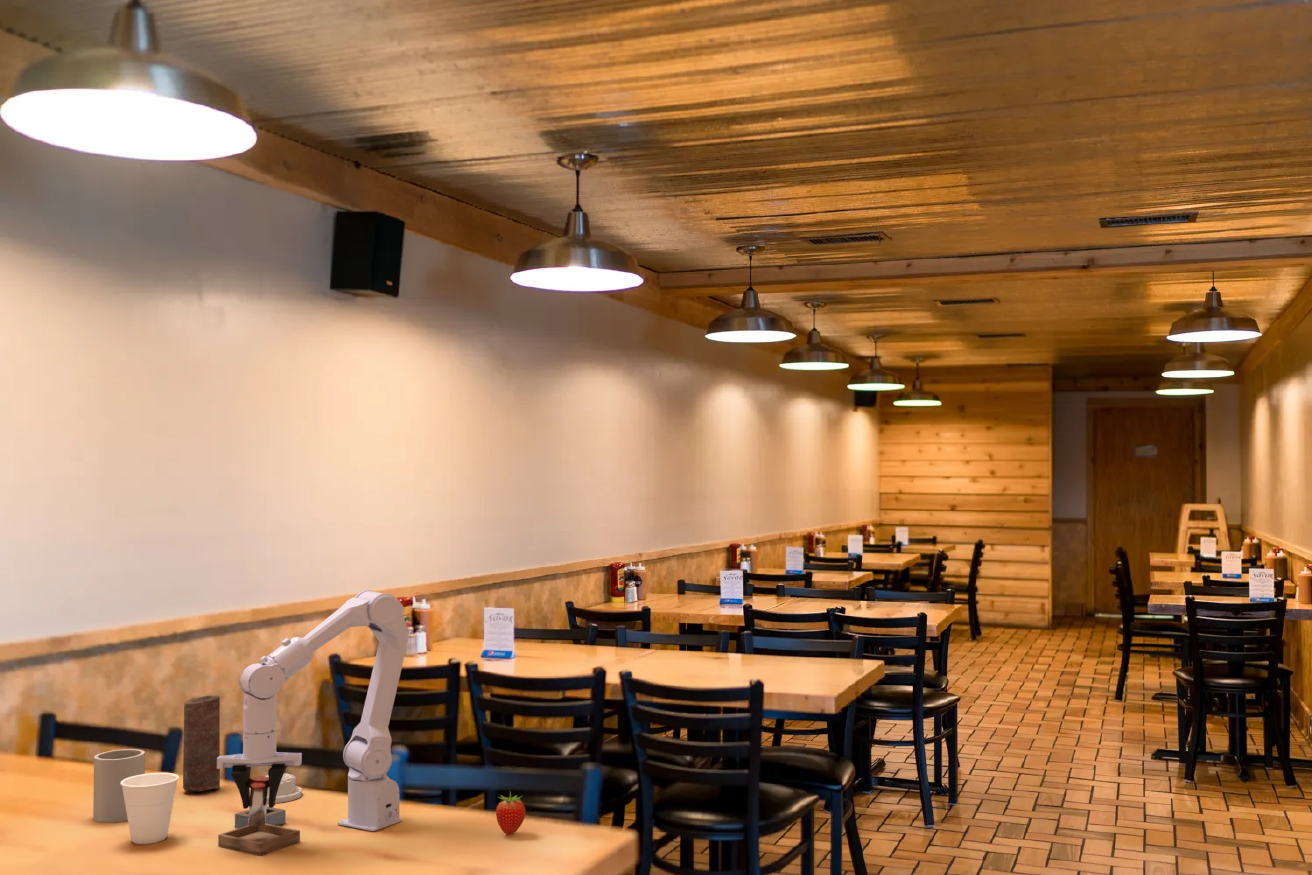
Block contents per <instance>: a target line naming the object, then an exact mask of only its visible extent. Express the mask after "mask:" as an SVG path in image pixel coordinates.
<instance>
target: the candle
mask: <svg viewBox="0 0 1312 875" xmlns="http://www.w3.org/2000/svg"><path fill="white" fill-rule="evenodd" d="M220 699H221V698H220V695H219V694H214V695H204V696H198V695H197V696H191V697H189V698H187V700H186V701H184V703H183V759H182V761H183V763H182V771H183V772H182V774H183V775H182V789H183V790H184V791H186V792H194V793H199V792H204V791H208V790H211V789H214V790H216V789H217V790H218V789H219V788H220V787H221V786H220V784H221V783H220V782H221V779H220V778H221V776H220V775H221V769H217V758H218V757H219V756H221V755H220V754H221V753H220V752H221V751H220V750H221V747H220V743H221V738H220V735H221V734H220V730H221V729H220V728H221V726H220V722H221V721H220V720H221V719H220V716H221V715H220V714H221V712H220V710H221V705H220V704H221V703H220V701H221V700H220Z"/></svg>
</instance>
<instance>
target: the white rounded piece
mask: <svg viewBox="0 0 1312 875" xmlns="http://www.w3.org/2000/svg"><path fill="white" fill-rule="evenodd" d="M264 776H265V777H269V776H268V774H267V775H264ZM296 784H297V777H296V776H295V774H290V773H284V775H283V777H282V779H281V782H280V785H279V788H278V791H277V795H276V801H275V804H278V803H279V804H280V803H287V802H292V801H294V800H298V798H301V797H302V796H303V790H302V787H300V786H297V785H296ZM301 790H302V791H301ZM267 804H269V787H268V795H267Z"/></svg>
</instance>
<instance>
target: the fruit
mask: <svg viewBox="0 0 1312 875" xmlns="http://www.w3.org/2000/svg"><path fill="white" fill-rule="evenodd" d="M522 797H523V795H521V796H519V797H518V794H516V795H514V796H512V794H511V791H509V797H506V796H503V795H502V794H500V796H498V798H499V799H500V800H501V801H500V802H499V803H498V805H497V806H496V809H495V815H496V820H497V824H498V825H499V827H500V829H501V830H502V833H504V834H505V835H507V836H511V835H513V834H515V833H516V832H517V831H518V830H519V828H521V826H522V824H523V823H524V821H525V818H526V807H525V804H524V803H523V801H522V800H521V798H522Z"/></svg>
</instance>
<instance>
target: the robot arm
mask: <svg viewBox="0 0 1312 875" xmlns="http://www.w3.org/2000/svg"><path fill="white" fill-rule="evenodd" d="M404 613H405V606H403V604H402V603H401V601H399V599H398V598H397V597H396V596H395V595H394V594H392V593H388V592H387V593H385V592H378V591H374V590H371V589H366V590H363V591H360V592H359V593H358V594H356V596H354V597H351V598H350V599H347V600H346V602H345V603H344V604H343V605H342V606H340V607H339V608H338V609H337V610H336V611H334V612H333V613H331V615H329V616H328V617H327V618H326V619H324V620H323V621H322V622H320V623H319V624H318V625H317V626H316V627H314V628H313V629H312V630H310V632H308V633H307V634H306V635H305V636H304V637H299V636H293V637H292V638H288V637H286V638H284V639H283V640H282V641H281V646H279V647H278V648H276V649H275V650H273V651H271V652H270V653H269V654H268V655H267V656H266V655H263V656H261V657H259V660H260V663H258V662H256V663H253V664H250V665H247V667H246V668H244V670H243V671H242V674H241V675H240V679H238V686H239V689H241V691H242V692H243V708H242V709H243V712H242V713H243V714H242V717H243V721H242V724H243V725H242V726H243V727H242V735H243V736H242V753H237V754H229V755H225V754H224V755H220V756H219V757H218V758H217V769H220V770H222V769H224V768H232V769H231V772H230V776H231V778H232V779H233V781H234V783H235V785H236V787H237V789H238V791H239V794H240V798H241V803H242V808H243V810H244V809H245V810H246V809H247V810H248V809H249V805H250V789H251V788H249V787H248V779H250V778H251V772H252V771H251V770H252V768H253V767H254V768H255V767H270V768H269V769H268V771H267V775H268V776H269V803H268V807H269V808H275V805H276V803H275V801H276V795H277V791H278V788H279V785H280V782H281V779H282V777H283V775H284V774H285V772H286V770H287V768H288V766H293V767H299V766H301V765H302V762H303V760H302V755H303V753H302V752H283V751H281V752H279V751H278V752H277V694H279V692H280V690H281V688H282V685H283V683H286V681H288V680H289V679H291V678H292V677H293V676H295V675H296V674H297V673H299V671H301V670H303V669H304V668H305V667H306V666H307V665H309V664H311V662H312V661H313V659H314V655H315V652H316V651H317V650H319V649H320V648H321V647H323V646H324V645H326V644H327V643H329V642H330V641H332V640H333V639H335V638H336V637H338V636H340V634H342V633H344V632H345V631H347V630H348V629H349V628H354V627H355V628H356V627H367V628H369V629H370V631H371V632H372V634H373V635H374V636H375V638H376V639H377V640H378V645H377V646H378V647H377V649H376V654H375V655H376V656H375V658H374V664H373V668H372V670H371V676H370V681H369V684H368V687H367V694H366V697H365V700H364V705H363V706H364V707H363V710H362V714H361V719H360V722H359V723H358V724H357V725H356V726H355V727H354V729H353V731H352V734H351V737H350V738H349V741H348V742H347V744H346V745H345V746H344V749H343V753H342V757H343V758H342V759H343V761H344V764H345V765H346V766H347V767H348V773H347V818H345V819H342V820H340V821H338V822H337V824H338V825H340V826H343V827H344V826H345V827H349V828H356V829H360V830H365V831H371V832H375V831H379V830H381V829H384V828H386V827H389V826H391V825H394V824H397V823H400V822H402V821H403V817H400V787H399V784H398V782H396V780H393V779H391V778H389V777H388V775H387V774H388V773H387V772H389V770H390V768H391V766H392V762H393V755H392V752H391V751H392V750H391V749H392V748H391V746H392V742H393V741H392V736H391V733H390V730H389V726H390V720H391V717H392V712H393V707H394V703H395V699H396V694H397V689H398V686H399V682H400V681H399V680H400V678H401V672H402V670H403V669H402V668H403V663H404V660H405V657H406V656H405V655H406V650H407V646H408V642H409V632H408V628H407V623H406V619H405V616H404Z"/></svg>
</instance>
